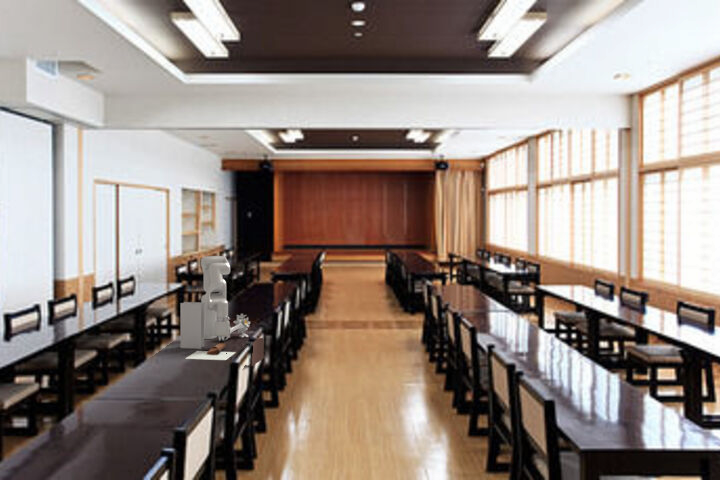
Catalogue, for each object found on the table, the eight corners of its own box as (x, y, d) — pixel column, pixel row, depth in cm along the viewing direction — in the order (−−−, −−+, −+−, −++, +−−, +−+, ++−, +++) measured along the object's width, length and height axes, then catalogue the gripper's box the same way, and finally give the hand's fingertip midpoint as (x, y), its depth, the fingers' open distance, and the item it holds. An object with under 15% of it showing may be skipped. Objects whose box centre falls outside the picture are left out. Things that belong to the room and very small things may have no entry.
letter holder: (263, 358, 347) (264, 336, 346) (252, 366, 327) (252, 343, 327) (248, 357, 348) (248, 335, 348) (236, 365, 329) (236, 342, 328)
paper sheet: (197, 351, 363) (197, 350, 363) (236, 352, 361) (236, 352, 361) (184, 358, 343) (184, 358, 343) (225, 360, 341) (225, 360, 341)
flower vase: (226, 350, 393) (254, 336, 410) (223, 327, 386) (252, 314, 404) (215, 344, 401) (243, 331, 418) (212, 321, 394) (240, 309, 412)
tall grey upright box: (204, 346, 375) (204, 302, 374) (201, 348, 369) (201, 303, 368) (183, 346, 376) (183, 302, 375) (180, 348, 371) (180, 303, 370)
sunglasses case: (212, 347, 371) (218, 338, 371) (222, 352, 371) (227, 344, 371) (205, 353, 353) (211, 344, 353) (215, 359, 353) (220, 350, 353)
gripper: (234, 318, 375) (234, 345, 375) (213, 317, 376) (213, 344, 377) (231, 320, 367) (231, 348, 368) (209, 319, 368) (209, 347, 369)
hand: (222, 346), depth 372 cm, fingers closed
